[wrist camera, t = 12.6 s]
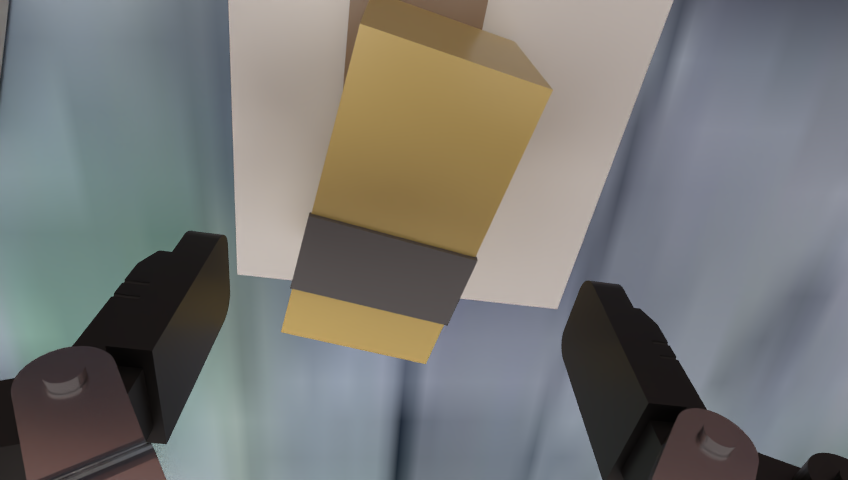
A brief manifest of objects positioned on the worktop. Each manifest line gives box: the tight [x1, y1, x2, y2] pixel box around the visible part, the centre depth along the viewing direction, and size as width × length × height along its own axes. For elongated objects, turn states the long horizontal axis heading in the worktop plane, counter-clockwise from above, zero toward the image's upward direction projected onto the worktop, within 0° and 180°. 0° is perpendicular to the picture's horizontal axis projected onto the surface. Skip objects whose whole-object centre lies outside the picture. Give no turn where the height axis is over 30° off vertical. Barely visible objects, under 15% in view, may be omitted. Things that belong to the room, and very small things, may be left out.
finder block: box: [281, 0, 553, 364], centre depth 16 cm, size 5×9×5 cm, turn 161°
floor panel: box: [228, 0, 674, 309], centre depth 19 cm, size 13×12×1 cm
